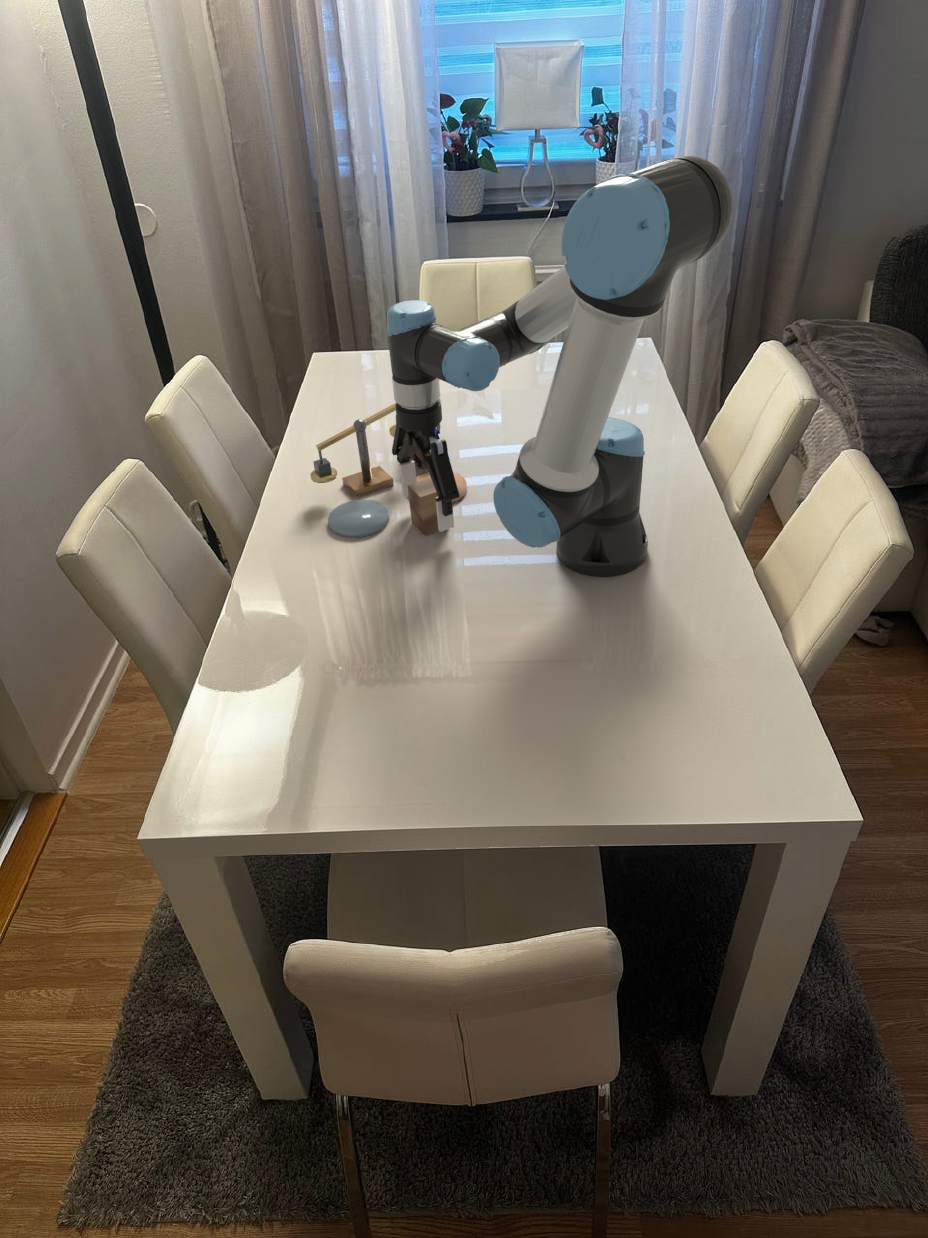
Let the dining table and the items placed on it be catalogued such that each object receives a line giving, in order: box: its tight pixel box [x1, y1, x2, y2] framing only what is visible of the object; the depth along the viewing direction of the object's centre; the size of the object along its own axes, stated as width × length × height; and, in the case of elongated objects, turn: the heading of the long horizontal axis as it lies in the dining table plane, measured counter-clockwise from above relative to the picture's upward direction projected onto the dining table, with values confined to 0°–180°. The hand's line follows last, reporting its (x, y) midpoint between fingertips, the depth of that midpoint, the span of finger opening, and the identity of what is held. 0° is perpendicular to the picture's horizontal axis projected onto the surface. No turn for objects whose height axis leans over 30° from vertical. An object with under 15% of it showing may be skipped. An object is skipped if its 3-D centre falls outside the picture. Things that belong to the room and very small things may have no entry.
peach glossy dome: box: [416, 471, 468, 504], centre depth 169 cm, size 11×11×1 cm
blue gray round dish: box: [327, 499, 390, 539], centre depth 162 cm, size 11×11×1 cm
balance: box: [309, 402, 396, 498], centre depth 168 cm, size 6×22×15 cm, turn 120°
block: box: [407, 478, 440, 537], centre depth 157 cm, size 5×5×8 cm
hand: (427, 511), depth 158 cm, fingers open, 13 cm apart
